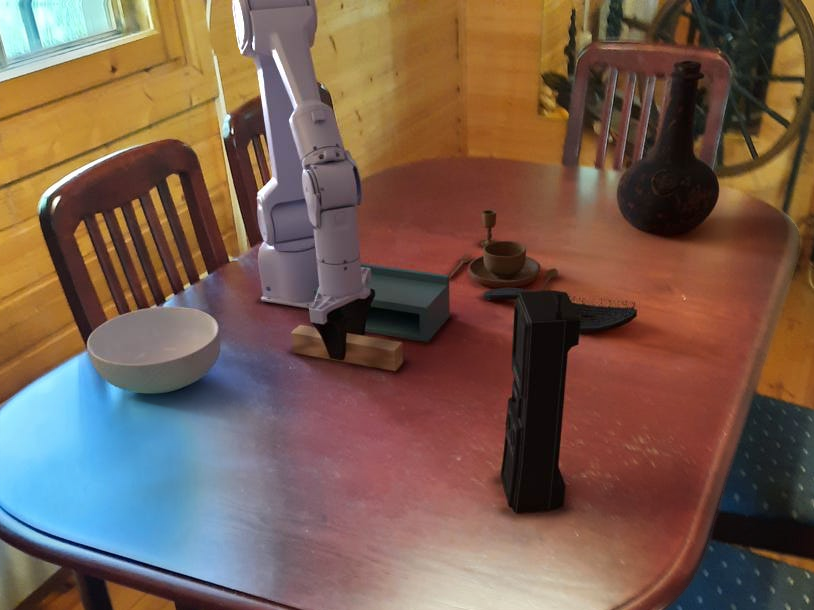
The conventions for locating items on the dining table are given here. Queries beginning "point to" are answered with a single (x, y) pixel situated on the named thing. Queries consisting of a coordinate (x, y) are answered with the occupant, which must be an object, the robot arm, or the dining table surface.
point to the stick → (350, 348)
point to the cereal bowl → (155, 349)
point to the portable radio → (537, 400)
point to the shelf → (406, 303)
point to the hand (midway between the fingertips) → (346, 348)
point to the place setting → (503, 262)
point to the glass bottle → (671, 168)
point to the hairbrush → (580, 311)
